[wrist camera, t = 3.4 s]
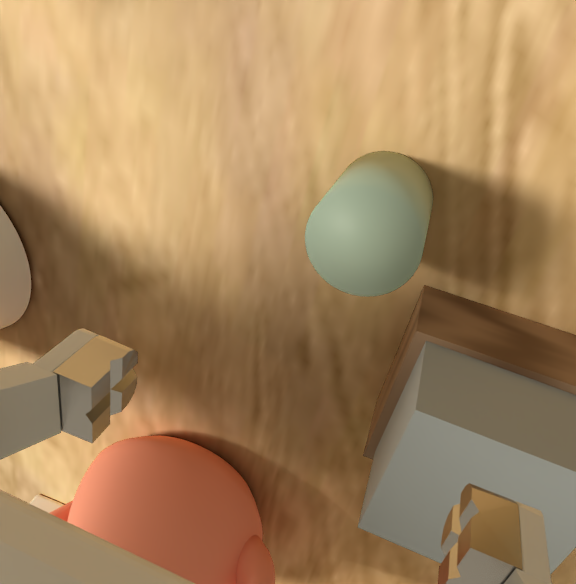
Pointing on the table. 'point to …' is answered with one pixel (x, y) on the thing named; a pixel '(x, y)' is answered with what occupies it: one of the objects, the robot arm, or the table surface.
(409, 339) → the bottom block
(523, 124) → the table surface
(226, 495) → the teapot
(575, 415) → the top block
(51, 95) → the table surface
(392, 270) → the pale green cylinder
